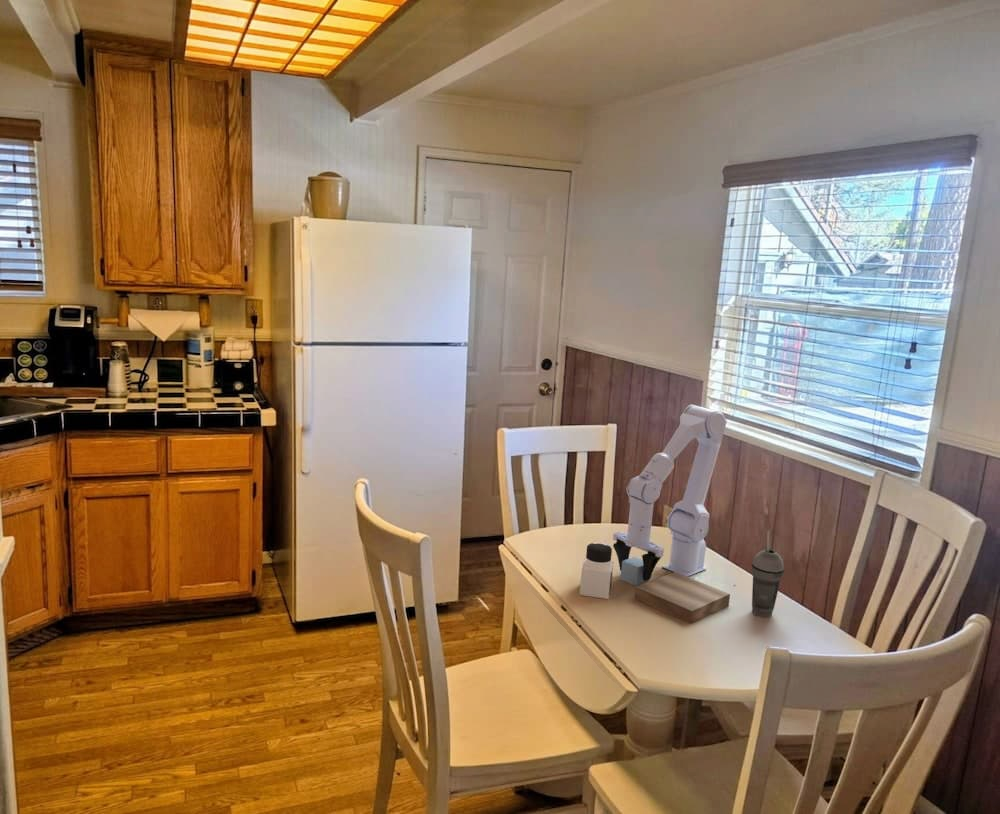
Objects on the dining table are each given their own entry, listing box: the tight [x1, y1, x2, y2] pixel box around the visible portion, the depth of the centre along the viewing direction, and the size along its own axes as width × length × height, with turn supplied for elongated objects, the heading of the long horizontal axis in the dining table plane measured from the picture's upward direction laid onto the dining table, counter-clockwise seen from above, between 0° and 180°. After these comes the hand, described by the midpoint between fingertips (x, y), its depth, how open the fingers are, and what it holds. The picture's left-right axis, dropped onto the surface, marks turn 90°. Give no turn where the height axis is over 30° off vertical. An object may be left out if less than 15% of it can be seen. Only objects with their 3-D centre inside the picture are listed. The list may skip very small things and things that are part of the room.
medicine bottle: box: [579, 541, 614, 600], centre depth 185 cm, size 7×7×12 cm
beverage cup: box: [751, 530, 785, 619], centre depth 178 cm, size 7×7×20 cm
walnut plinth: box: [634, 571, 731, 624], centre depth 183 cm, size 16×16×3 cm
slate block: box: [620, 556, 649, 587], centre depth 194 cm, size 5×5×5 cm
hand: (634, 574), depth 194 cm, fingers open, 7 cm apart
